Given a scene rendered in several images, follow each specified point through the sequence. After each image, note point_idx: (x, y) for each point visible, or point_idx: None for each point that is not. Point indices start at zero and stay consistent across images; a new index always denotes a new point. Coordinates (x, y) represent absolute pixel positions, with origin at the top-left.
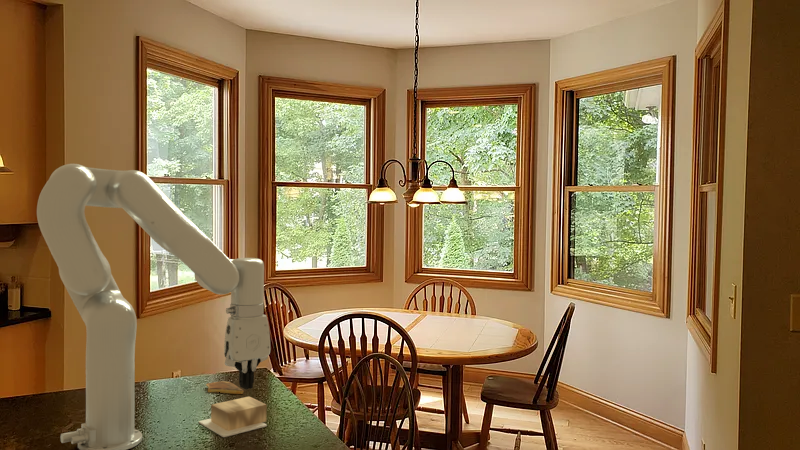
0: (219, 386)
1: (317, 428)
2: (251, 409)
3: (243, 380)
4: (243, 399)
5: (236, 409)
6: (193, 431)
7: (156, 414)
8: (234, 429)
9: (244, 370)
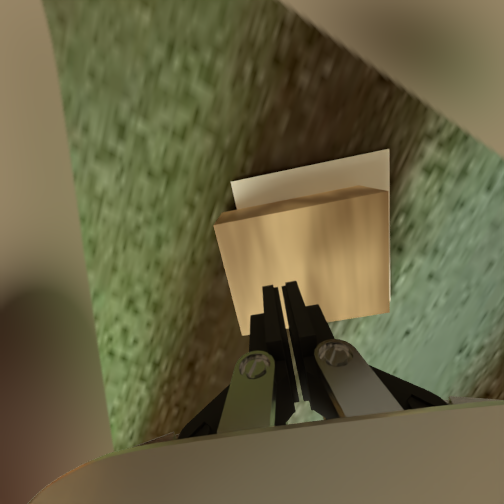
0: None
1: (74, 72)
2: (281, 210)
3: (317, 318)
4: None
5: (339, 221)
6: (430, 243)
7: (441, 390)
8: (336, 187)
9: (337, 357)
